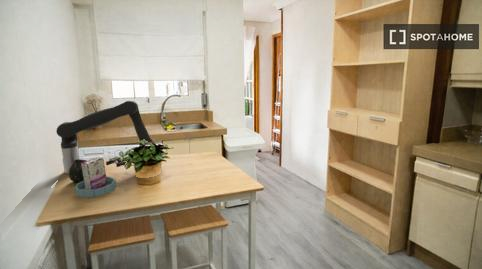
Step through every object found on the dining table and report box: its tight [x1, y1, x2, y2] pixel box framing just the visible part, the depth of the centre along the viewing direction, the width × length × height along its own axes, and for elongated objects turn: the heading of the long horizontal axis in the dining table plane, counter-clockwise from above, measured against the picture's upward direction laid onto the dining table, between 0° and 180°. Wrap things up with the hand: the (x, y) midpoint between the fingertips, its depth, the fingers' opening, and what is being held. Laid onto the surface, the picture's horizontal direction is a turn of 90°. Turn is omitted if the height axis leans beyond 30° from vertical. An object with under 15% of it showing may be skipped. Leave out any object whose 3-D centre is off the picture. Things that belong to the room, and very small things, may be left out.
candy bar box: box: [81, 156, 107, 190], centre depth 163 cm, size 11×5×16 cm, turn 160°
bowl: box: [74, 176, 117, 199], centre depth 164 cm, size 20×20×4 cm
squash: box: [68, 158, 88, 184], centre depth 177 cm, size 14×15×15 cm
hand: (111, 164), depth 173 cm, fingers open, 8 cm apart
